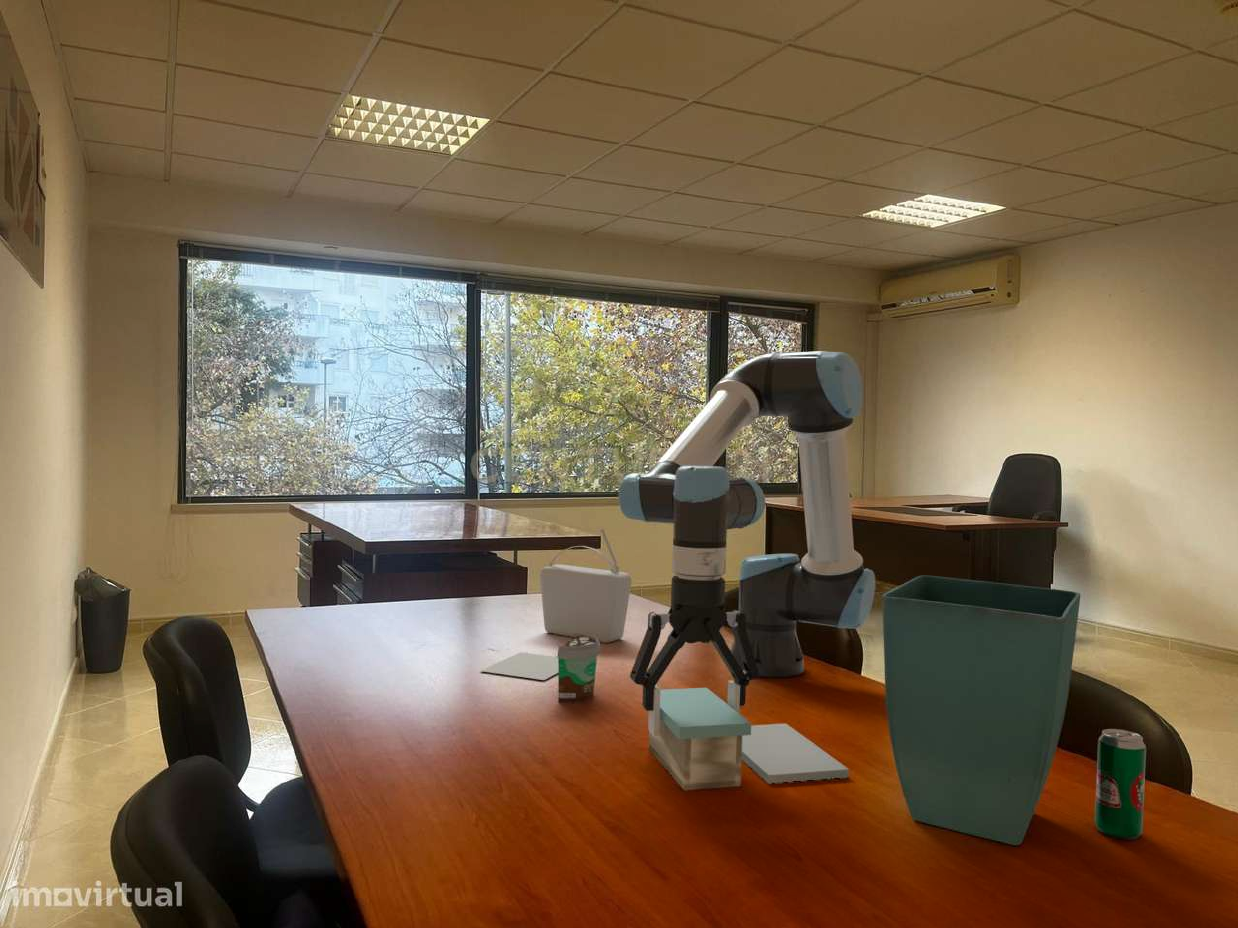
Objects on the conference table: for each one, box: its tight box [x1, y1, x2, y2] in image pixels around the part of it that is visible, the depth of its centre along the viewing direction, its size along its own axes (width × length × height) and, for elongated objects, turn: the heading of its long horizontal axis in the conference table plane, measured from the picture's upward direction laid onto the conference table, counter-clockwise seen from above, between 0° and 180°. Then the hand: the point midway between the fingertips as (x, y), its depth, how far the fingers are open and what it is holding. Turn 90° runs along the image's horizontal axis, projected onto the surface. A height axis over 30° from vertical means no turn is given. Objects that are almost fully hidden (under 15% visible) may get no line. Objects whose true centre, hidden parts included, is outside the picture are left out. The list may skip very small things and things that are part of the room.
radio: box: [539, 528, 632, 644], centre depth 207 cm, size 22×8×25 cm, turn 58°
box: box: [648, 720, 743, 791], centre depth 127 cm, size 8×16×7 cm, turn 15°
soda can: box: [1094, 728, 1147, 841], centre depth 109 cm, size 5×5×12 cm
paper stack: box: [479, 651, 558, 681], centre depth 184 cm, size 23×25×1 cm
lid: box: [660, 687, 752, 739], centre depth 127 cm, size 10×17×2 cm, turn 15°
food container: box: [556, 632, 602, 703], centre depth 159 cm, size 12×6×10 cm, turn 168°
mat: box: [742, 723, 850, 785], centre depth 132 cm, size 12×20×1 cm, turn 15°
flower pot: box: [881, 575, 1081, 846], centre depth 111 cm, size 20×20×28 cm
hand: (693, 730), depth 127 cm, fingers open, 11 cm apart
